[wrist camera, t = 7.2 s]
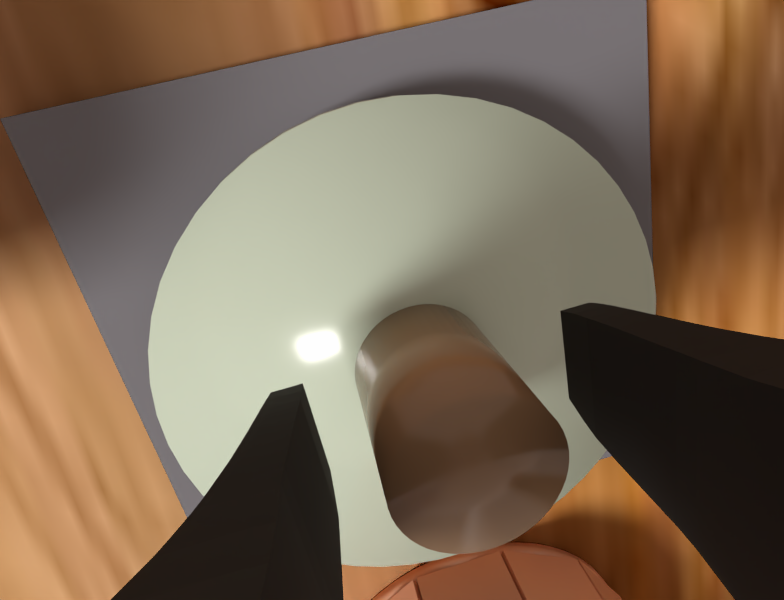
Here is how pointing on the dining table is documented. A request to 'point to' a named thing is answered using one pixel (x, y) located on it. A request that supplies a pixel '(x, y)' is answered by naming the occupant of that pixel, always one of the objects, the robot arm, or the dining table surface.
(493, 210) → the lid
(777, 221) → the dining table surface
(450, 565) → the bowl
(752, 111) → the dining table surface
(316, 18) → the dining table surface
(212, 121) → the mat
